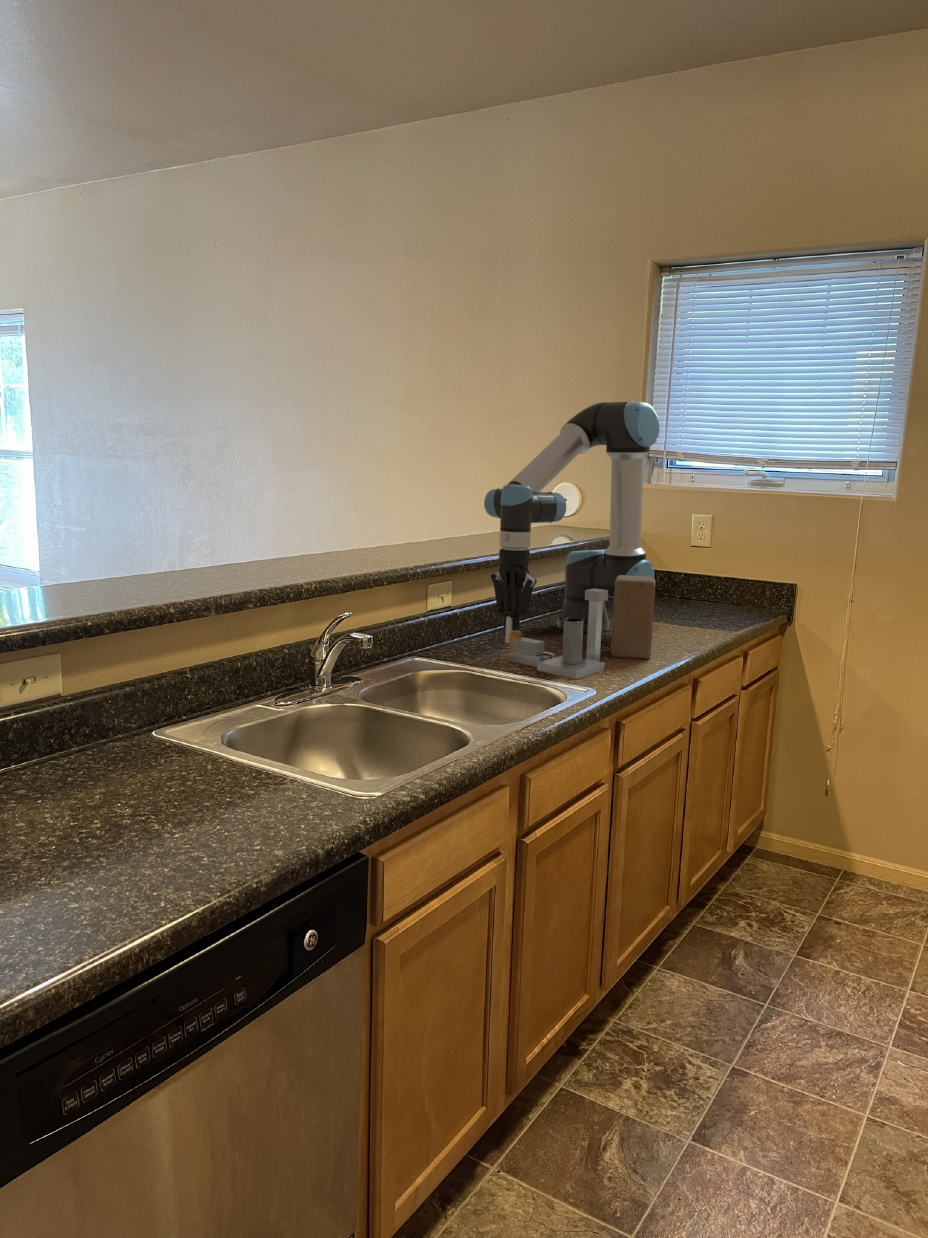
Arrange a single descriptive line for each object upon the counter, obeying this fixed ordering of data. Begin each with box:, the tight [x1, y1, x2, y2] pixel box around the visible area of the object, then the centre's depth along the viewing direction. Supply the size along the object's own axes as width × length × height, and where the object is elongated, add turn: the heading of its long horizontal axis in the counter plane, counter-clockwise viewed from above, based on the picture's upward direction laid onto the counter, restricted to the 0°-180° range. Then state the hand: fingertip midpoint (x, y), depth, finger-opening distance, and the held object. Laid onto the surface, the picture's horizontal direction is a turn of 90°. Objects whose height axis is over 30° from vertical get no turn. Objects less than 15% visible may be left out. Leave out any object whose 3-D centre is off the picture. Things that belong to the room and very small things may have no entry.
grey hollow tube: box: [561, 618, 584, 664], centre depth 217 cm, size 4×4×10 cm
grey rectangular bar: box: [508, 630, 545, 656], centre depth 226 cm, size 3×8×4 cm, turn 49°
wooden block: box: [610, 575, 656, 660], centre depth 235 cm, size 10×10×20 cm
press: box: [509, 588, 609, 680], centre depth 222 cm, size 18×22×18 cm
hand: (510, 642), depth 229 cm, fingers closed
